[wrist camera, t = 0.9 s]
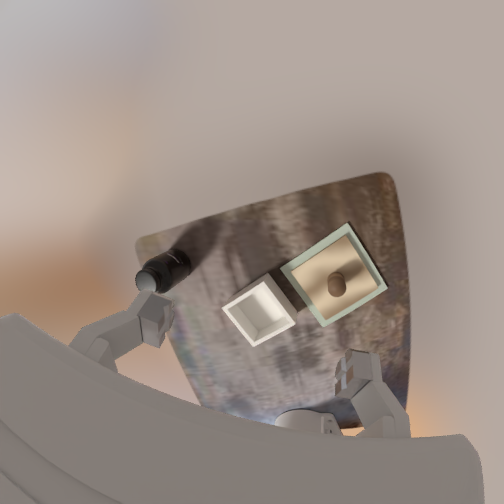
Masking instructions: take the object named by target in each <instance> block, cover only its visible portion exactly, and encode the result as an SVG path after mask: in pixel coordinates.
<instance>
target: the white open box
mask: <svg viewBox="0 0 504 504" xmlns="http://www.w3.org/2000/svg"><path fill="white" fill-rule="evenodd" d="M222 309H223V310H224V312H225V313H226V314H227V315H228V317H229V318H230V319H231V320H232V322H233V323H234V324H235V325H236V327H237V328H238V329H239V330H240V331H241V333H242V334H243V335H244V336H245V337H246V339H247V340H248V341H249V342H250V343H251V345H252V346H253V347H254V346H256V345H258V344H260V343H262V342H264V341H265V340H267V339H269V338H271V337H273V336H275V335H277V334H279V333H280V332H282V331H284V330H286V329H288V328H290V327H291V326H293V325H295V324H296V320H297V314H298V312H297V311H296V309H295V308H294V307H293V305H292V304H291V303H290V301H289V300H288V299H287V297H286V296H285V295H284V293H283V292H282V291H281V289H280V288H279V287H278V285H277V284H276V282H275V281H274V280H273V278H272V277H271V276H270V274H269V273H267V274H265V275H264V276H262V277H261V278H259V279H258V280H256V281H255V282H253V283H252V284H250V285H248V286H247V287H245V288H244V289H242V290H241V291H239V292H238V293H236V294H235V295H233V296H232V297H230V298H229V299H228V300H227V302H226V303H225V304H224V306H223V307H222Z"/></svg>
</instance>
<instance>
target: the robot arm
mask: <svg viewBox="0 0 504 504" xmlns="http://www.w3.org/2000/svg"><path fill="white" fill-rule="evenodd" d="M174 305H175V302H174V299H171V298H169V297H166V296H163V295H161V294H158V293H156V292H153V291H150V290H148V289H145V288H144V289H143V290H141V291H140V293H139V294H138V296H137V297H136V298H135V300H134V301H133V303H132V304H131V305H130V307H129V308H128V309H127V311H124V310H123V311H121V312H118V313H116V314H113V315H111V316H109V317H106V318H104V319H101V320H99V321H97V322H94V323H92V324H89V325H87V326H84V327H82V328H81V330H80V331H79V332H78V334H77V335H76V336H75V338H74V339H73V341H72V342H71V343H70V345H69V346H67V345H65V344H64V343H62V342H60V341H59V340H57V339H56V338H54V337H53V336H51V335H49V334H48V333H46V332H45V331H43V330H42V329H40V328H39V327H37V326H36V325H35V324H33V323H32V322H30V321H29V320H27V319H26V318H25V317H23V316H22V315H20V314H18V313H13V314H8V315H5V316H2V317H0V504H484V485H483V475H482V467H481V462H480V458H479V455H478V452H477V451H476V450H475V448H474V447H473V445H472V444H471V443H470V442H469V440H468V439H467V438H466V437H465V436H464V435H461V434H458V435H457V434H456V435H447V436H436V437H419V438H411V434H410V423H409V416H408V414H407V413H406V411H405V410H404V409H403V407H402V406H401V404H400V403H399V402H398V400H397V399H396V397H395V396H394V394H393V393H392V392H391V390H390V389H389V387H388V386H387V385H386V383H384V382H383V381H382V373H381V365H380V358H379V355H378V354H375V353H369V352H365V351H360V350H354V349H349V350H347V352H346V353H345V357H344V358H341V359H340V361H339V362H338V364H337V367H336V372H335V377H336V379H337V380H338V382H337V383H336V384H335V396H336V397H341V398H347V399H351V402H352V404H353V406H354V408H355V410H356V412H357V414H358V416H359V418H360V420H361V422H362V425H363V427H364V429H365V430H363V431H362V432H360V433H359V434H357V435H356V437H355V436H343V434H342V432H341V430H340V428H339V425H338V423H337V421H336V419H335V417H334V415H333V414H331V413H318V412H314V411H310V410H292V411H288V412H285V413H283V414H281V415H280V416H279V417H278V418H277V419H276V420H275V424H274V425H270V424H266V423H261V422H257V421H253V420H249V419H245V418H241V417H237V416H233V415H229V414H226V413H222V412H219V411H215V410H212V409H209V408H206V407H203V406H199V405H196V404H193V403H191V402H188V401H185V400H182V399H179V398H176V397H173V396H171V395H168V394H166V393H163V392H161V391H158V390H156V389H153V388H151V387H148V386H146V385H143V384H141V383H139V382H137V381H134V380H132V379H130V378H128V377H126V376H124V375H121V374H119V373H118V370H117V367H116V364H115V361H114V360H115V359H117V358H119V357H120V356H122V355H124V354H126V353H127V352H129V351H131V350H132V349H134V348H135V347H137V346H139V345H140V344H142V343H143V342H144V343H147V344H149V345H152V346H155V347H157V348H160V346H161V344H162V343H163V341H164V339H165V332H167V331H169V330H170V328H171V326H172V323H173V320H174V311H173V307H174Z"/></svg>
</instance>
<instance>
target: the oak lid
mask: <svg viewBox="0 0 504 504" xmlns="http://www.w3.org/2000/svg"><path fill="white" fill-rule="evenodd" d="M291 273H292V274H293V276H294V277H295V279H296V280H297V281H298V283H299V284H300V285H301V287H302V288H303V290H304V291H305V292H306V294H307V295H308V297H309V298H310V299H311V301H312V302H313V304H314V305H315V306H316V308H317V309H318V311H319V312H320V313H321V315H322V316H323V318H324V319H325V320H327V319H329V318H331V317H333V316H334V315H336V314H338V313H339V312H341V311H343V310H344V309H346V308H348V307H349V306H351V305H353V304H354V303H356V302H357V301H359V300H361V299H362V298H364V297H365V296H367V295H369V294H370V293H372V292H373V291H375V290H376V289H378V286H377V284H376V283H375V281H374V279H373V278H372V276H371V274H370V273H369V271H368V269H367V268H366V266H365V264H364V263H363V261H362V260H361V258H360V256H359V255H358V253H357V252H356V250H355V249H354V247H353V246H352V244H351V242H350V241H349V239H348V238H347V236H346V235H344V236H342V237H341V238H339V239H338V240H336V241H335V242H333V243H332V244H330V245H329V246H327V247H326V248H324V249H323V250H321V251H320V252H318V253H317V254H315V255H314V256H312V257H311V258H309V259H308V260H306V261H305V262H303V263H302V264H300V265H299V266H297V267H296V268H294V269H293V270H291Z"/></svg>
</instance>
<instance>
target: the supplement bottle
mask: <svg viewBox="0 0 504 504" xmlns="http://www.w3.org/2000/svg"><path fill="white" fill-rule="evenodd" d="M190 269H191V265H190V261H189V258H188V257H187V255H186V254H185V253H184V252H182V251H180V250H177V249H171V250H169V251H166V252H164V253H162V254H160V255H158V256H156V257H154V258H152V259H150V260H148V261H147V262H146V263H145V264H144V266H143V268H142V270H141V271H139V272H138V273H137V275H136V278H135V279H136V280H135V281H136V285H137V287H138V289H139V290H140V291H141V290H143V289H144V288H145V289H148V290H150V291H153V292H156V293H158V294H162V293H165V292H167V291H169V290H170V289H171V288H173V287H174V286H176V285H177V284H178V283H180V282H181V281H182V280H184V279H185V278H186V277H187V276H188V275H189V273H190Z"/></svg>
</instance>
